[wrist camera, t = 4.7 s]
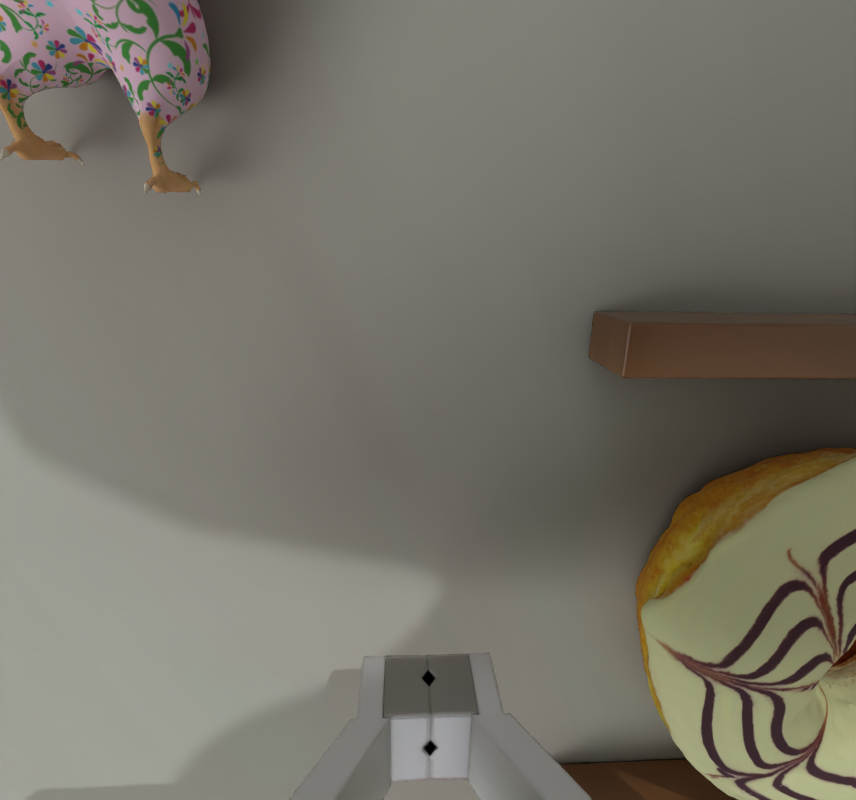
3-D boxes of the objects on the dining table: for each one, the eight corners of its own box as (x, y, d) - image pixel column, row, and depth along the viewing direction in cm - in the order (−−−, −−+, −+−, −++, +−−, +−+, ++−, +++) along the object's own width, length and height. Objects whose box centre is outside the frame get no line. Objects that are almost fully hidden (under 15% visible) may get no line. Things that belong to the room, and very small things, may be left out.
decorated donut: (858, 341, 13) (1044, 378, 9) (1011, 588, 15) (1201, 693, 12) (545, 583, 14) (595, 696, 11) (734, 767, 17) (825, 908, 13)
